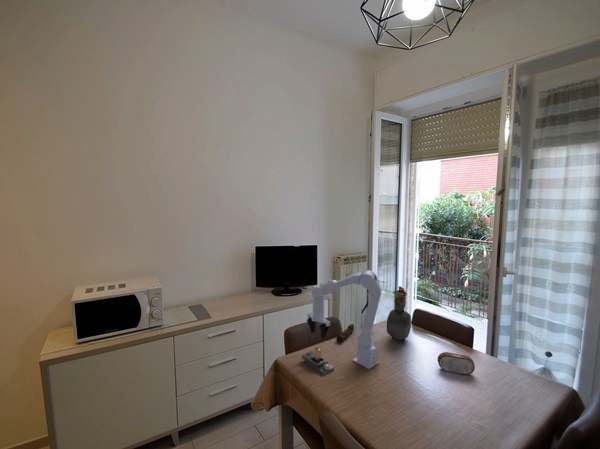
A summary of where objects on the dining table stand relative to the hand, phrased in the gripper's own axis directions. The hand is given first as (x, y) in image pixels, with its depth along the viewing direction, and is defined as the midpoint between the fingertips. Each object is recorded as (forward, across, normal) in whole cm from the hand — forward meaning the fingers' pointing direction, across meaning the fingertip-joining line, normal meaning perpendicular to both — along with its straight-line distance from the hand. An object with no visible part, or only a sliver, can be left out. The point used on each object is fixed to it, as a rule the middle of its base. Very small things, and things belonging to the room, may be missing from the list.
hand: (318, 335), depth 151 cm
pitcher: (+10, +18, +46) cm, 50 cm away
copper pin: (+9, +8, -8) cm, 15 cm away
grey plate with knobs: (+9, +8, -8) cm, 15 cm away
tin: (+10, +52, +37) cm, 65 cm away
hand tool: (+10, -3, +26) cm, 28 cm away
